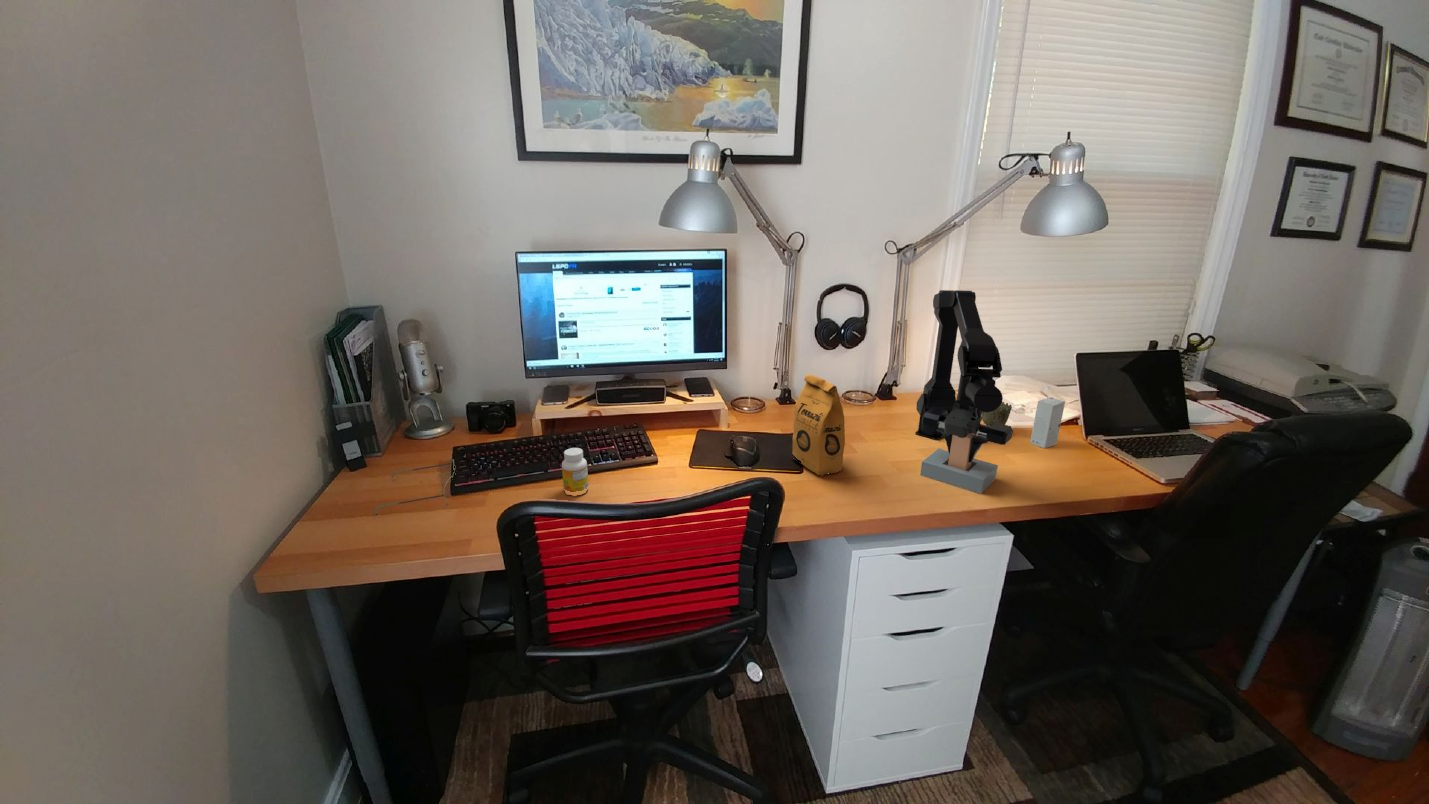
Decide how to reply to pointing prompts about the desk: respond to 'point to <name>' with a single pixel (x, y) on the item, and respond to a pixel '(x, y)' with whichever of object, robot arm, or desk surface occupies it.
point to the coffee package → (819, 427)
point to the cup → (997, 415)
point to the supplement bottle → (574, 470)
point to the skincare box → (1047, 422)
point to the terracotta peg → (961, 452)
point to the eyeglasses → (421, 498)
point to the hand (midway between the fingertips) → (960, 459)
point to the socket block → (959, 472)
